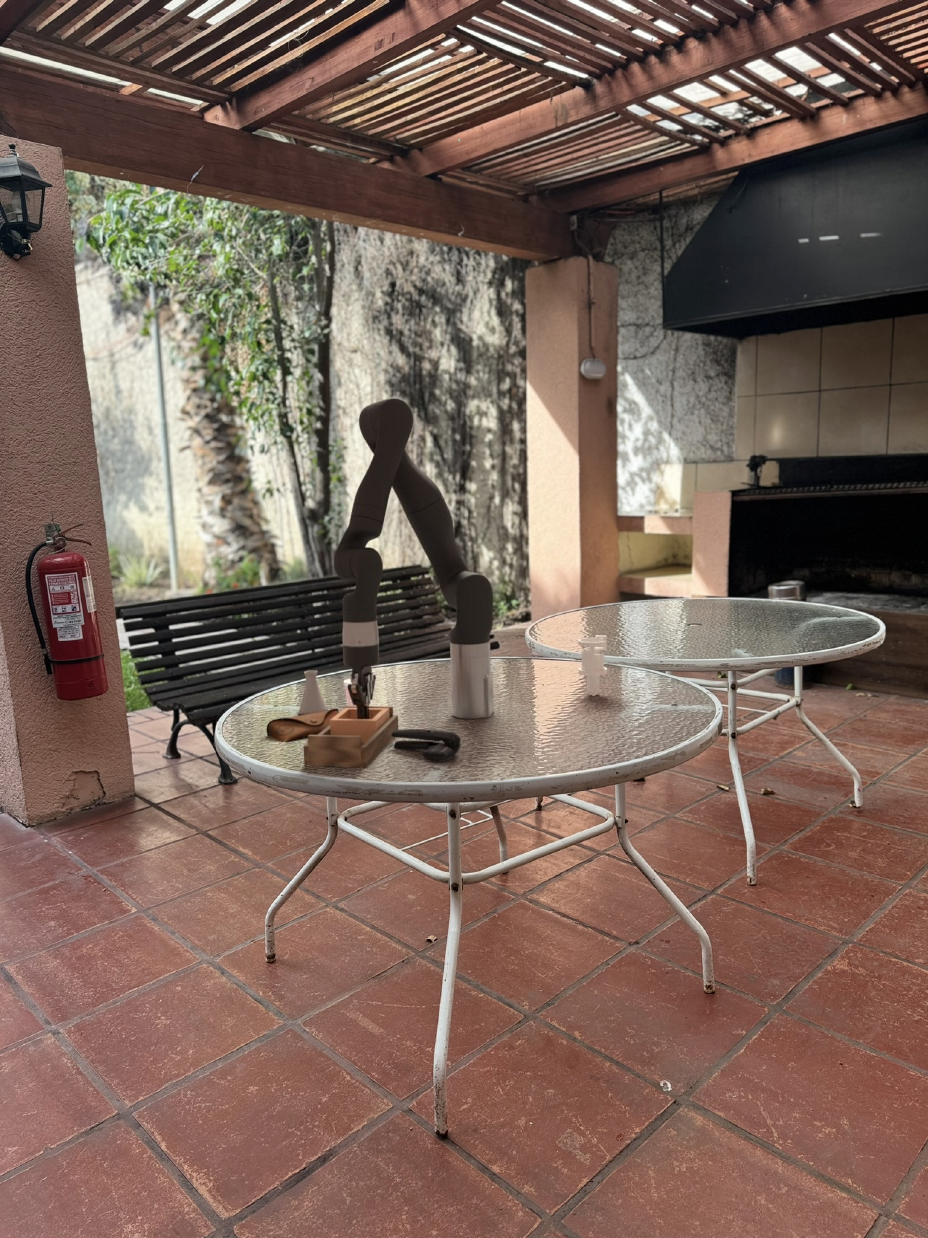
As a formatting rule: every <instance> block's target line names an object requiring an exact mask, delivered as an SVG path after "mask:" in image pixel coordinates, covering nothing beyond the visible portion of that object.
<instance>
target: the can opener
mask: <svg viewBox="0 0 928 1238" xmlns="http://www.w3.org/2000/svg"><path fill="white" fill-rule="evenodd" d="M391 735H392V736H393V737H395V738H399V739H400V738H401V739H411V740H398V741H397V740H396V741H395V742H394V745H393V747H394V748H396V749H399V750H405V751H424V752H423V753H422V757H423V758H424V759H425V760H427V761H429V760H430V761H429V762H435V763H441V762H446V761H448V760H451V759H453V758H454V757H455V756H456V754H457V753H458V752H459V751H460V748H461V741H462V740H461V737H460V736H459V735H458V734H456V733H455V732H454V731H444V730H442V731H441V730H437V729H436V728H433V727H432V728H430V729H424V728H423V729H422V728H420V729H419V728H418V729H417V728H414V729H412V728H410V729H406V728H405V729H398V730H396V731H393V732H392V734H391ZM413 739H414V740H413ZM440 741H441V742H440Z"/></svg>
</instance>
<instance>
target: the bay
mask: <svg viewBox="0 0 928 1238" xmlns="http://www.w3.org/2000/svg"><path fill="white" fill-rule="evenodd" d="M345 708H357V706H347V705H346V706H344V709H345ZM369 708H389V713H390V719H389V720H388V721H387V722H386V723H385V724H384V725H383V726H382V727H381V728H380V729H379V730H378V731H377V732H376V733H375V734H374V735H373V736H372V737H371V738H370V739H369V740H368V741H366V742H365V743H362V736H351V735H331V734H330V725H329V726H328V727H326V728H325V729H324V730H323V731H321V732H320V733H319V734H318V735H308V737H307V742H306V743H305V744H304V745H303V762H304V763H303V765H304V766H305V765H309V766H308V767H323V766H339V767H338V768H363V769H365V768H366V769H367V768H368V767H369V766H370V764H372V763H373V762H374V760H375V759H376V758H377V757H378V756H380V754H381V752H383V751H384V750H385V749H386V748H387V746H388V745H389V744H391V742H392V741H393V740H394V739H395V738H396V737H393V736H392V735H391V734H392V732H393V731H396V730H399V715H398V714H397V715H394V706H392V705H391V706H389V705H387V706H386V705H369ZM311 765H312V766H311ZM314 765H315V766H314Z"/></svg>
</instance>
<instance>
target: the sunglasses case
mask: <svg viewBox="0 0 928 1238" xmlns="http://www.w3.org/2000/svg"><path fill="white" fill-rule="evenodd" d="M339 712H340V709H338V708H331V709H329V710H328V711H324V712H318V713H312V714H306V715H304V714H299V715H297V716H293V717H292V716H291V717H279V718H275V719H271V721H269V722H268V723H267V725H266V736H267V737H268V738H269V737H270V738H271V739H273V740H275V739H276V741H278V740H279V741H278V742H280V741H281V742H286V743H290V742H293V740H294V741H297V740H298V741H299V740H302V739H308V735H318V734H319V733H320V732H321V731H323V730H324V729H325V728H326V727H328V726H329V725H330V720H331V719H332V718H333V717H334V716H336V715H337V714H338V713H339Z"/></svg>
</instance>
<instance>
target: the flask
mask: <svg viewBox="0 0 928 1238" xmlns="http://www.w3.org/2000/svg"><path fill="white" fill-rule="evenodd" d="M303 673H304V676H305V687H304V692H303V695H302V700H301V703H300V706H299V710H298V712H297V713H298V714H299V715H306V714H312V713H318V712H324V711H328V709H329V708H328V706H327V703H326V702H325V699H324V697H323V695H322V692H321V690H320V687H319V684H318V680H317V679H318V678H317V677H318V676H317V675H318V670H307V671H306V670H305V671H304V672H303Z"/></svg>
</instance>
